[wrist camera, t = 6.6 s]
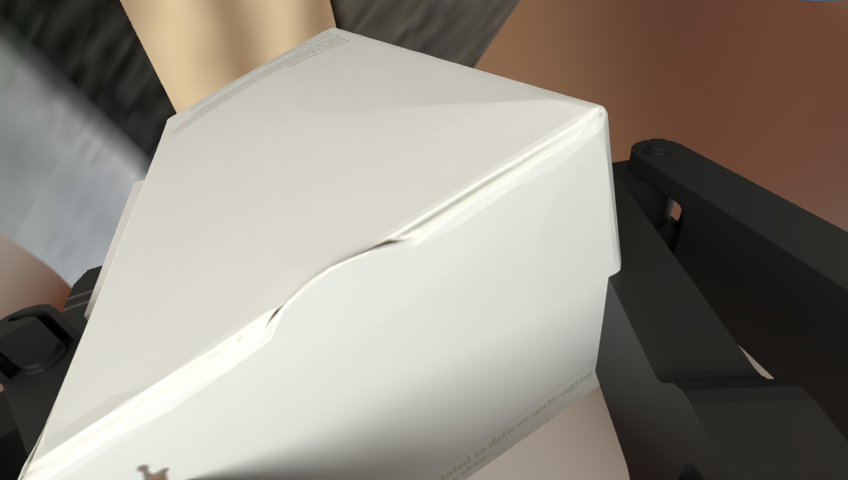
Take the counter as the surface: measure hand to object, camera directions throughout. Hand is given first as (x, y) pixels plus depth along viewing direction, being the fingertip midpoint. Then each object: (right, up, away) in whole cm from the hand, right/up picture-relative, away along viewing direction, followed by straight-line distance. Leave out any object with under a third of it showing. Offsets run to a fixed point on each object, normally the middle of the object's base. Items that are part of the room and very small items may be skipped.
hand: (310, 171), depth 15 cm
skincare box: (-2, +3, +4) cm, 5 cm away
